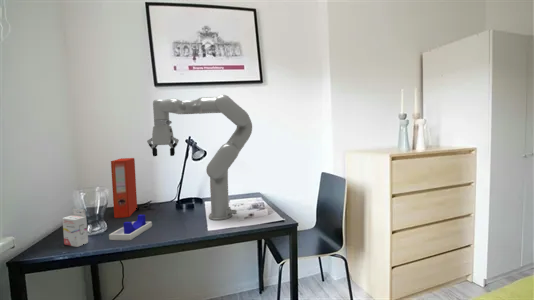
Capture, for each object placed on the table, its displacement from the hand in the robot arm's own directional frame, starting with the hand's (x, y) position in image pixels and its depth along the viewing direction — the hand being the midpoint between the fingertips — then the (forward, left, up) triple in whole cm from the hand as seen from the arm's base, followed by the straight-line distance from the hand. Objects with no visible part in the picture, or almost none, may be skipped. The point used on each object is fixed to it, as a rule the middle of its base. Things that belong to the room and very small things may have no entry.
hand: (163, 155), depth 141 cm
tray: (+7, +20, -34) cm, 40 cm away
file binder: (+31, -10, -34) cm, 47 cm away
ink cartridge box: (+24, +33, -34) cm, 53 cm away
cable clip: (+7, +19, -34) cm, 39 cm away
